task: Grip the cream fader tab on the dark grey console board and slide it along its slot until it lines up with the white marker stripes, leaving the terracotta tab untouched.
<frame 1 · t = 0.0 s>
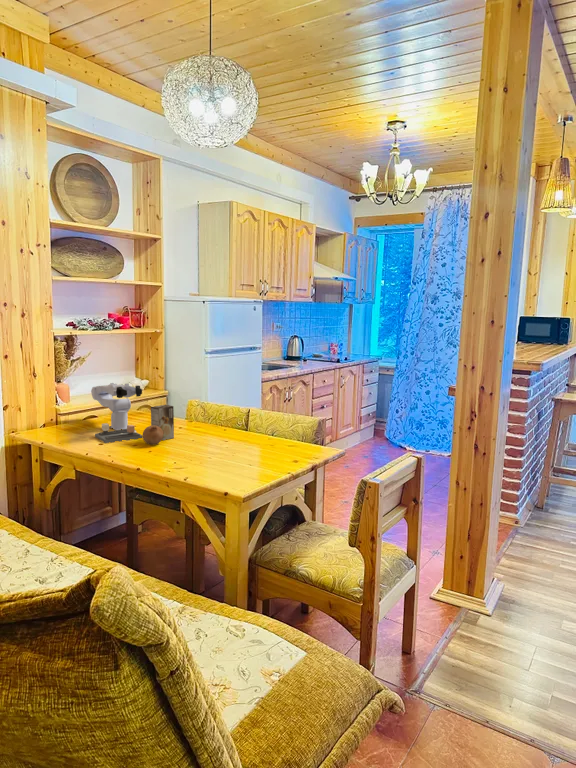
hand: (133, 392, 262), 22 cm above the table, tool horizontal, fingers open, 7 cm apart
onion: (153, 444, 250), on the table
console: (118, 437, 261), on the table
fader b: (130, 430, 258), point 4 cm above the table, slide at 4.0 cm
fader a: (105, 429, 260), point 4 cm above the table, slide at -5.0 cm
coffee box: (162, 439, 261), on the table
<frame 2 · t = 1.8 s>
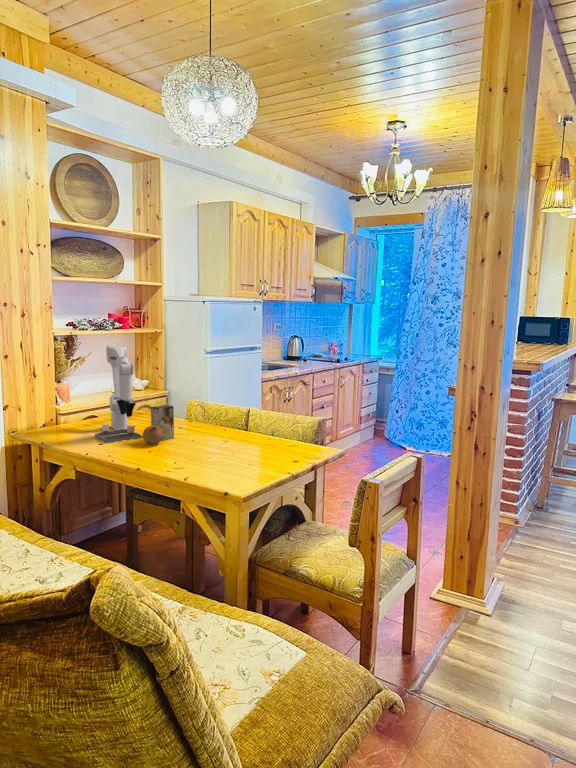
hand: (126, 415, 265), 10 cm above the table, tool pointing down, fingers open, 7 cm apart
nothing on the table moved.
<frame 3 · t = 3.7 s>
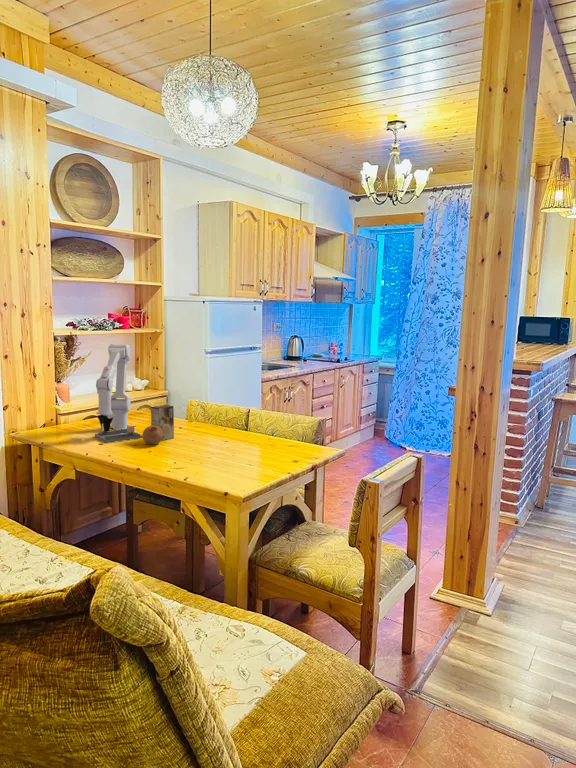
hand: (105, 430, 260), 3 cm above the table, tool pointing down, fingers closed on fader a, 3 cm apart
fader a: (105, 429, 260), point 4 cm above the table, slide at -5.0 cm, touching gripper
everything else where it was.
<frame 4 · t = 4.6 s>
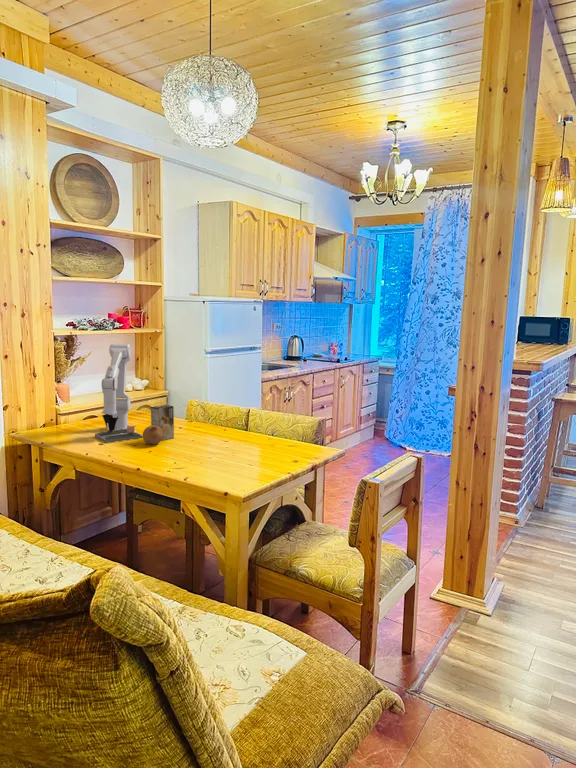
hand: (110, 429, 262), 3 cm above the table, tool pointing down, fingers closed on fader a, 3 cm apart
fader a: (110, 428, 262), point 4 cm above the table, slide at -2.6 cm, touching gripper
everything else where it was.
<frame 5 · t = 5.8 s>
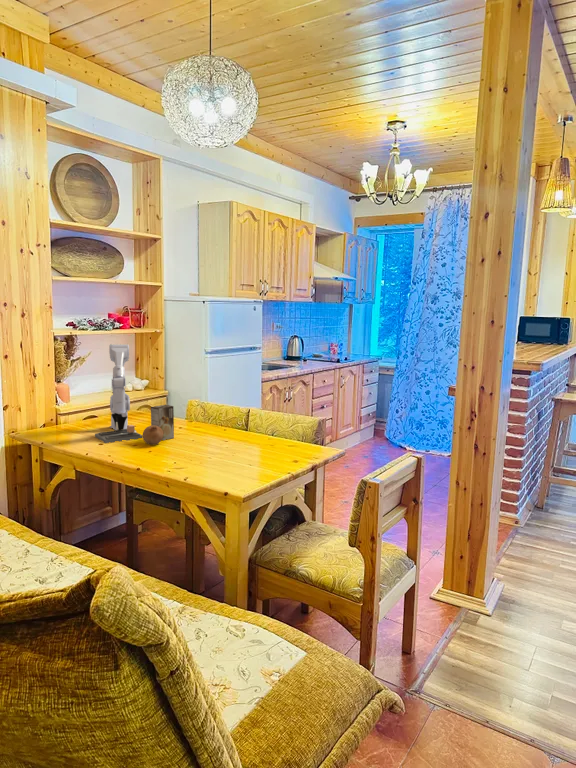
hand: (119, 428, 264), 3 cm above the table, tool pointing down, fingers closed on fader a, 3 cm apart
fader a: (119, 427, 264), point 4 cm above the table, slide at 2.0 cm, touching gripper
everything else where it was.
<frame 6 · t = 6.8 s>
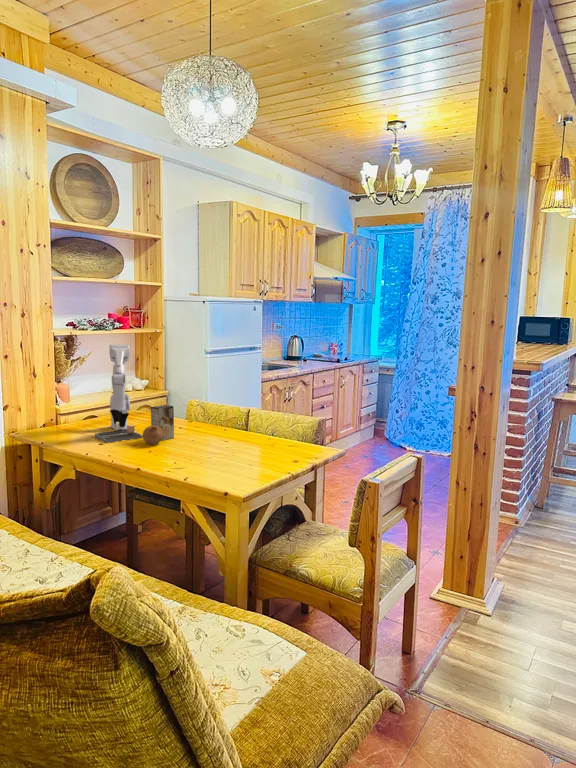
hand: (119, 425, 264), 5 cm above the table, tool pointing down, fingers open, 7 cm apart
fader a: (119, 427, 264), point 4 cm above the table, slide at 2.0 cm
everything else where it was.
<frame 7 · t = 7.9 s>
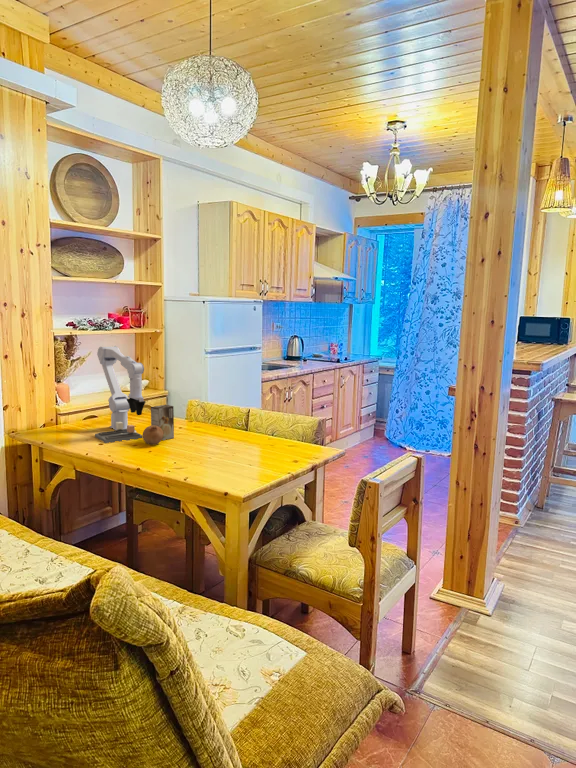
hand: (136, 413, 270), 10 cm above the table, tool pointing down, fingers open, 7 cm apart
nothing on the table moved.
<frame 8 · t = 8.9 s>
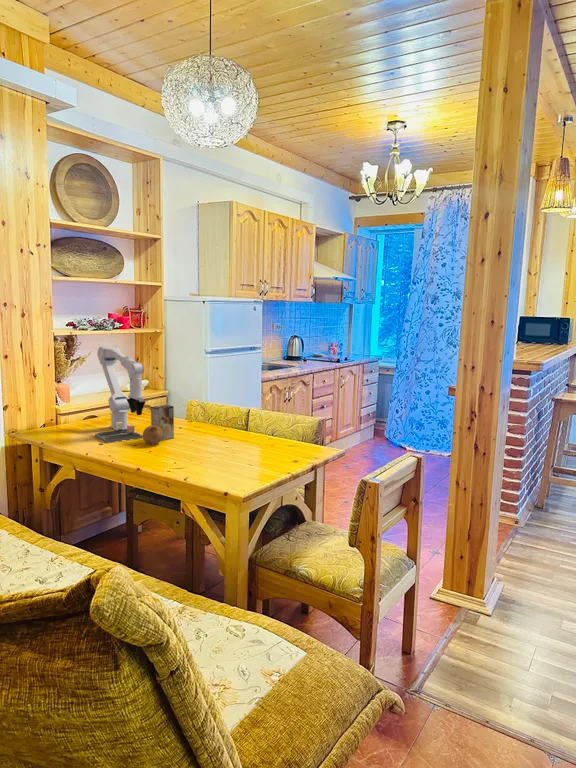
hand: (136, 413, 270), 10 cm above the table, tool pointing down, fingers open, 7 cm apart
nothing on the table moved.
at the end: fader a slide at 2.0 cm; fader b slide at 4.0 cm; the gripper is holding nothing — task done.
